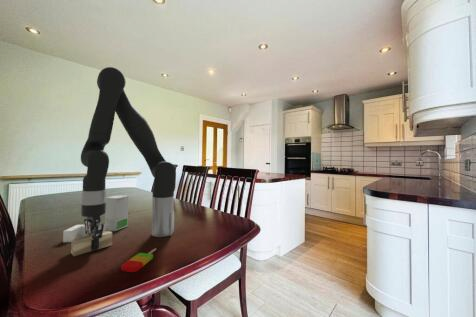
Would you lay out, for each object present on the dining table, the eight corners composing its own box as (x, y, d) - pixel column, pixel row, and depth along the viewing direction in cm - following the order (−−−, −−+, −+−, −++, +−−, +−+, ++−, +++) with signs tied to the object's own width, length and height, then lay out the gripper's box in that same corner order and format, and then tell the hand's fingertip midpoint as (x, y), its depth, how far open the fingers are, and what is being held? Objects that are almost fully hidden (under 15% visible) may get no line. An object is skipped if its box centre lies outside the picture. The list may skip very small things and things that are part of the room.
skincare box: (115, 231, 94) (116, 198, 94) (103, 230, 95) (104, 197, 95) (128, 226, 102) (129, 195, 102) (117, 224, 103) (118, 194, 104)
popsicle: (119, 271, 62) (119, 265, 62) (149, 250, 77) (149, 245, 77) (135, 274, 61) (135, 268, 61) (162, 251, 76) (162, 246, 76)
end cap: (105, 234, 91) (105, 224, 91) (95, 241, 83) (95, 230, 83) (76, 234, 89) (76, 224, 89) (63, 242, 81) (63, 231, 81)
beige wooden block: (111, 245, 79) (112, 232, 80) (73, 256, 70) (74, 241, 70) (108, 242, 82) (108, 230, 82) (71, 253, 72) (71, 239, 72)
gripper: (112, 203, 75) (111, 249, 75) (98, 198, 83) (97, 239, 83) (88, 206, 69) (87, 257, 69) (76, 201, 77) (75, 245, 77)
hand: (93, 247), depth 76 cm, fingers closed on beige wooden block, 3 cm apart
